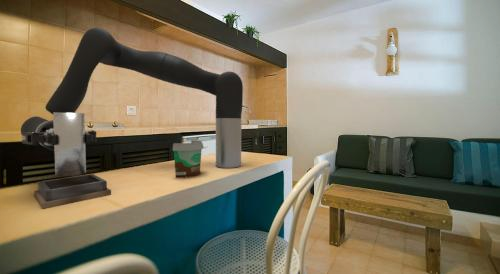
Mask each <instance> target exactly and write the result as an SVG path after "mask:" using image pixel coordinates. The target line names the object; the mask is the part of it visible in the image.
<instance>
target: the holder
mask: <svg viewBox="0 0 500 274" xmlns="http://www.w3.org/2000/svg"><path fill="white" fill-rule="evenodd" d="M33 194H34V197H35V199H36V200H37V201H38V204H39V205H40V207H41V208H42V210H44V209H47V208H48V209H49V208H53V207H58V206H62V205H68V204H73V203H77V202H81V201H87V200H92V199H96V198H101V197H105V196H111V195H112V189H110V188H108V184H107V180H105V179H104V178H102V177H100V176H98V175H95V174H94V173H90V174H81V175H75V176H66V177H62V178H61V177H60V178H55V179H48V180H41V181H37V190H34V191H33Z"/></svg>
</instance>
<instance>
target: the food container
mask: <svg viewBox="0 0 500 274" xmlns="http://www.w3.org/2000/svg"><path fill="white" fill-rule="evenodd" d="M204 148H205V147H204V143H203V140H195V139H193V140H190V142H181V143H178V142H177V143H175V142H174V143H173V145H172V152H173V161H174V171H175V178H177V179H180V178H181V179H182V178H191V177H193V178H194V177H196V176H199V175H201V163H202V149H204Z"/></svg>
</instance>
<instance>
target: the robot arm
mask: <svg viewBox="0 0 500 274" xmlns="http://www.w3.org/2000/svg"><path fill="white" fill-rule="evenodd" d="M99 64H102V65H105V66H109V67H114V68H115V67H116V68H122V69H125V70H129V71H134V72H136V73H139V74H142V75H145V76H148V77H151V78H154V79H156V80H159V81H162V82H166V83H168V84H169V83H170V84H174V85H177V86H180V87H186V88H189V89H195V90H199V91H202V92H205V93H208V94H211V95H213V96H215V166H216V167H218V168H225V169H226V168H227V169H228V168H229V169H230V168H231V169H232V168H238V167H241V166H242V113H243V97H244V96H243V95H244V94H243V93H244V91H243V90H244V89H243V87H244V85H243V81H242V78H241V77H240V75H239V74H237V73H236V72H234V71H224V72H223V73H221V74H219V73H215V72H212V71H208V70H205V69H203V68H201V67H199V66H197V65H195V64H194V63H192V62H190V61H188V60H186V59H184V58H182V57H180V56H179V57H178V56H176V55H173V54H169V53H167V52H163V51H154V50H153V51H152V50H151V51H150V50H149V51H148V50H140V49H136V48H133V47H130V46H128V45H125V44H122V43H120V42H119V41H117V40H116V39H115V37H114V36H113V35H112V34H111V33H110V32H109V31H107V30H106V29H104V28H103V27H93V28H89V29H87V30H86V31H85V33H84V34H83V35H82V37H81V39H80V41H79V43H78V46H77V49H76V50H75V53H74V56H73V57H72V60H71V62H70V64H69V67H68V69H67V71H66V72H65V75H64V76H63V78H62V81H61V82H60V83H59V85H58V87H56V89H55V91H54V93H52V95H51V96H50V98H49V99H48V101H47V103H46V104H45V111H46V112H49V113H50V114H52V115H53V112H59V113H77V110H79V109H78V108H79V107H80V105H81V104H82V102H83V101H84V100H85V97H86V94H87V91H88V88H89V83H90V79H91V77H92V74H93V73H94V70H96V67H97V66H98V65H99ZM20 134H21V143H22V145H23V144H24V145H29V146H30V145H31V146H38V145H41V146H42V147H44V148H46V149H48V150H51V151H54V152H55V150H54V145H56V134H54V123H53V119H52V120H51V119H50V120H48V119H46V118H43V117H40V116H31V117H29V118H28V119H26V120H25V121H24V122H23V123H22V125H21V127H20ZM96 142H97V131H96V130H94V129H93V130H92V129H91V130H88V131H86V130H85V145H86V144H91V143H94V144H95V143H96Z"/></svg>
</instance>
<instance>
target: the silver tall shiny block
mask: <svg viewBox="0 0 500 274" xmlns="http://www.w3.org/2000/svg"><path fill="white" fill-rule="evenodd" d="M52 115H53V117H52V118H53V119H52V120H53V123H54V134H56V145H54V150H55V151H54V171H55V172H54V173H55V176H56V177H74V176H81V175H85V174H86V173H87V159H86V157H87V156H86V155H87V153H86V143H85V131H86V124H85V123H86V122H85V121H86V120H85V119H86V118H85V115H86V114H85V113H83V112H75V113H59V112H53V114H52Z"/></svg>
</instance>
